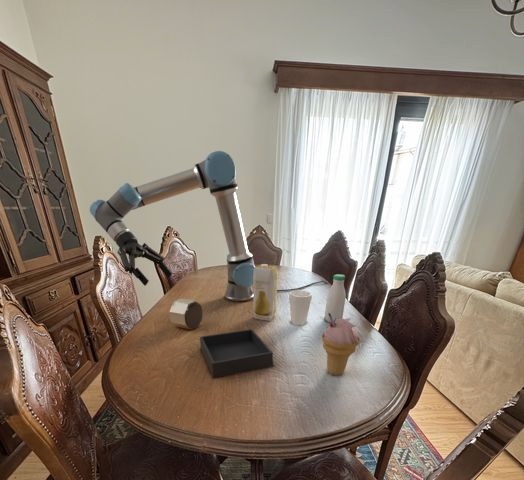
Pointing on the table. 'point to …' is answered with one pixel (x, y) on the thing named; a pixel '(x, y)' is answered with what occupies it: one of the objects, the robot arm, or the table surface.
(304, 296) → the foam cup
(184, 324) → the pot
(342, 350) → the ice cream cone
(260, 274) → the juice carton
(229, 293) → the robot arm
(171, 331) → the table surface
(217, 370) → the tray
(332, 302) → the milk bottle
